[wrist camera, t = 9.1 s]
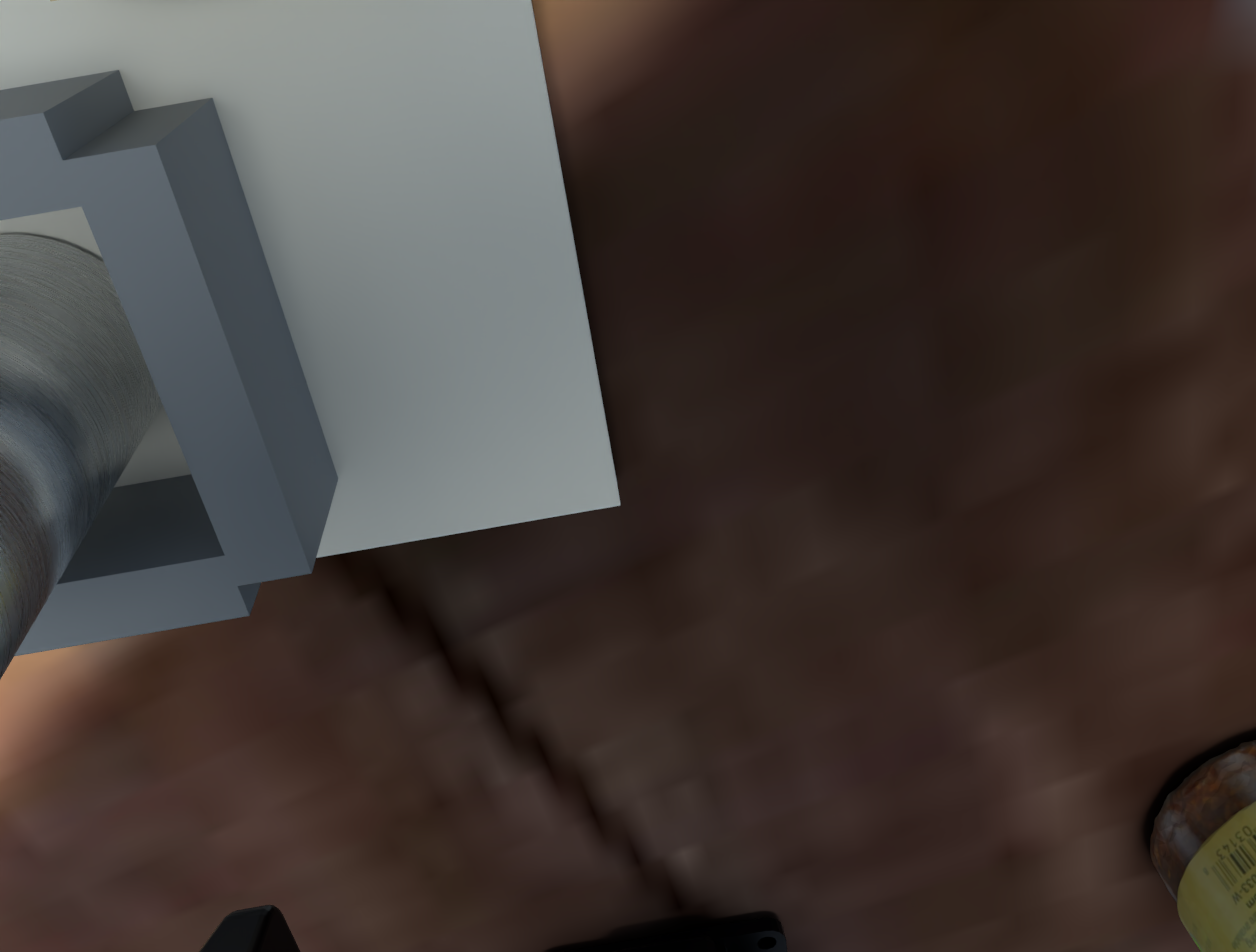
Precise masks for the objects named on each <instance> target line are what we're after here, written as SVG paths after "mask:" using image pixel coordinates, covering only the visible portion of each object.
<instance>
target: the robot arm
mask: <svg viewBox="0 0 1256 952" xmlns="http://www.w3.org/2000/svg"><path fill="white" fill-rule="evenodd" d="M199 952H300V950H299V948H298V946H297V944H296V942H295V939H294V937H293V935H292V933H291V931H290V929H289V927H288V925H287V923H286V920H285V918H284V916H283V914H282V913H281V911H280V910H279V909H278V908H277V907H275V906H273V905H265V906H259V907H253V908H248V909H242V910H237V911H234V912H232V913H230V914H229V915H227V916H226V917H225V918H224V919H223V920H222V921H221V922H220V924H219V925H218V926H217V928H216V929H215V930H214V932H213V933H212V934H211V936H210V937H209V938H208V940H207V941H206V942H205V944H204V945H203V946H202V948H201V949H200V950H199ZM567 952H787V946H786V939H785V934H784V930H783V926H782V924H781V922H780V921H778V920H777V919H774V918H770V917H769V918H758V919H752V920H747V921H741V922H735V923H729V924H723V925H718V926H712V927H706V928H700V929H694V930H689V931H683V932H677V933H671V934H666V935H660V936H654V937H648V938H642V939H637V940H631V941H625V942H619V943H614V944H608V945H602V946H596V947H590V948H585V949H579V950H573V951H567Z"/></svg>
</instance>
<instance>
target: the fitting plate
mask: <svg viewBox="0 0 1256 952" xmlns="http://www.w3.org/2000/svg"><path fill="white" fill-rule="evenodd" d="M2 234H21V235H30V236H38V237H43V238H47V239H51V240H56V241H59V242H61V243H64V244H67V245H70V246H73V247H75V248H77V249H80V250H82V251H84V252H86V253H88V254H90V255H92V256H94V257H95V258H97V259H99V260H100V261H102V262H104V263H105V265H106V267H107V270H108V272H109V275H110V277H111V280H112V282H113V284H114V287H115V289H116V292H117V294H118V297H119V299H120V302H121V304H122V306H123V309H124V311H125V314H126V316H127V319H128V321H129V323H130V326H131V328H132V331H133V333H134V336H135V338H136V340H137V343H138V345H139V348H140V350H141V353H142V355H143V358H144V360H145V362H146V365H147V367H148V370H149V372H150V375H151V377H152V379H153V382H154V384H155V387H156V389H157V392H158V394H159V396H160V399H161V401H162V407H161V408H160V410H159V412H158V413H157V415H156V417H155V419H154V420H153V422H152V424H151V425H150V427H149V429H148V430H147V432H146V434H145V435H144V437H143V439H142V441H141V442H140V444H139V446H138V447H137V449H136V451H135V452H134V454H133V456H132V457H131V459H130V461H129V463H128V464H127V466H126V468H125V469H124V471H123V473H122V474H121V476H120V478H119V479H118V481H117V483H116V485H115V486H114V488H113V490H112V491H111V493H110V495H109V496H108V498H107V500H106V501H105V503H104V505H103V507H102V508H101V510H100V512H99V513H98V515H97V517H96V518H95V520H94V522H93V523H92V525H91V527H90V529H89V530H88V532H87V534H86V535H85V537H84V539H83V540H82V542H81V544H80V545H79V547H78V549H77V550H76V552H75V554H74V556H73V557H72V559H71V561H70V562H69V564H68V566H67V567H66V569H65V571H64V572H63V574H62V576H61V578H60V579H59V581H58V583H57V584H56V586H55V588H54V589H53V591H52V593H51V594H50V596H49V598H48V600H47V601H46V603H45V605H44V606H43V608H42V610H41V611H40V613H39V615H38V616H37V618H36V620H35V622H34V623H33V625H32V627H31V628H30V630H29V632H28V633H27V635H26V637H25V638H24V640H23V642H22V644H21V645H20V647H19V649H18V650H17V652H16V654H15V655H14V656H18V655H24V654H30V653H36V652H42V651H47V650H53V649H59V648H65V647H71V646H76V645H82V644H88V643H94V642H100V641H105V640H111V639H117V638H123V637H129V636H135V635H140V634H146V633H152V632H158V631H164V630H169V629H175V628H181V627H187V626H193V625H198V624H204V623H210V622H216V621H222V620H227V619H233V618H239V617H245V616H250V613H251V610H252V607H253V604H254V601H255V599H256V596H257V593H258V590H259V587H260V584H261V582H264V581H270V580H276V579H282V578H288V577H294V576H299V575H305V574H311V573H312V571H313V567H314V563H315V560H316V558H318V557H324V556H330V555H336V554H341V553H347V552H353V551H359V550H365V549H370V548H376V547H382V546H388V545H394V544H399V543H405V542H411V541H417V540H423V539H428V538H434V537H440V536H446V535H452V534H458V533H463V532H469V531H475V530H481V529H487V528H492V527H498V526H504V525H510V524H516V523H521V522H527V521H533V520H539V519H545V518H551V517H556V516H562V515H568V514H574V513H580V512H585V511H591V510H597V509H603V508H609V507H614V506H620V498H619V492H618V485H617V479H616V473H615V468H614V462H613V457H612V451H611V445H610V440H609V434H608V428H607V423H606V417H605V412H604V406H603V400H602V395H601V389H600V383H599V378H598V372H597V366H596V361H595V355H594V350H593V344H592V338H591V333H590V327H589V321H588V316H587V310H586V305H585V299H584V293H583V288H582V282H581V276H580V271H579V265H578V259H577V254H576V248H575V243H574V237H573V231H572V226H571V220H570V214H569V209H568V203H567V198H566V192H565V186H564V181H563V175H562V169H561V164H560V158H559V152H558V147H557V141H556V136H555V130H554V124H553V119H552V113H551V107H550V102H549V96H548V91H547V85H546V79H545V74H544V68H543V62H542V57H541V51H540V45H539V40H538V34H537V29H536V23H535V17H534V12H533V6H532V0H0V235H2Z"/></svg>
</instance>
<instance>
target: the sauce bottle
mask: <svg viewBox="0 0 1256 952" xmlns="http://www.w3.org/2000/svg"><path fill="white" fill-rule="evenodd" d="M1150 855H1151V859H1152V862H1153V865H1154V866H1155V868H1156V869H1157V871H1158V872H1159V875H1160V876H1161V878H1162V879H1163V881H1164V883H1165V885H1166V887H1167V889H1168V891H1169V892H1170V894H1171V895H1172V896H1173V898H1174V900H1175V901H1176V903H1177V908H1178V913H1179V916H1180V919H1181V921H1182V923H1183V924H1184V926H1185V928H1186V929H1187V931H1188V932H1189V934H1190V936H1191V937H1192V939H1193V940H1194V942H1195V943H1196V945H1197V946H1198V948H1199V949H1200V951H1201V952H1256V740H1253V741H1249V742H1243V743H1241V744H1240V745H1239V746H1238V747H1236V748H1233V749H1230V750H1228V751H1226V752H1225V753H1223V754H1221V755H1218V756H1216V757H1214V758H1211V759H1209V760H1208V761H1207V762H1205V763H1204V764H1202V765H1201V766H1200V767H1199V768H1198V769H1196V770H1195V771H1193V772H1192V773H1191V774H1190V775H1189V776H1188V777H1187V778H1185V779H1184V781H1183V783H1181V784H1180V785H1179V786H1178V788H1176V789H1175V790H1173V791H1172V792H1171V793H1169V794H1168V796H1167V798H1166V800H1165V802H1164V804H1163V806H1162V808H1161V810H1160V812H1159V814H1158V816H1157V817H1156V818H1155V820H1154V829H1153V832H1152V835H1151V841H1150Z"/></svg>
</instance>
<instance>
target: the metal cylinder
mask: <svg viewBox="0 0 1256 952" xmlns="http://www.w3.org/2000/svg"><path fill="white" fill-rule="evenodd" d="M161 407H162V401H161V399H160V396H159V394H158V392H157V389H156V387H155V384H154V382H153V379H152V377H151V375H150V372H149V370H148V367H147V365H146V362H145V360H144V358H143V355H142V353H141V350H140V348H139V345H138V343H137V340H136V338H135V336H134V333H133V331H132V328H131V326H130V323H129V321H128V319H127V316H126V314H125V311H124V309H123V306H122V304H121V302H120V299H119V297H118V294H117V292H116V289H115V287H114V284H113V282H112V280H111V277H110V275H109V272H108V270H107V267H106V265H105V263H104V262H102V261H100V260H99V259H97V258H95V257H94V256H92V255H90V254H88V253H86V252H84V251H82V250H80V249H77V248H75V247H73V246H70V245H67V244H64V243H61V242H59V241H56V240H51V239H47V238H43V237H38V236H30V235H21V234H2V235H0V679H1V677H2V676H3V674H4V672H5V671H6V669H7V667H8V666H9V664H10V662H11V660H12V659H13V657H14V655H15V654H16V652H17V650H18V649H19V647H20V645H21V644H22V642H23V640H24V638H25V637H26V635H27V633H28V632H29V630H30V628H31V627H32V625H33V623H34V622H35V620H36V618H37V616H38V615H39V613H40V611H41V610H42V608H43V606H44V605H45V603H46V601H47V600H48V598H49V596H50V594H51V593H52V591H53V589H54V588H55V586H56V584H57V583H58V581H59V579H60V578H61V576H62V574H63V572H64V571H65V569H66V567H67V566H68V564H69V562H70V561H71V559H72V557H73V556H74V554H75V552H76V550H77V549H78V547H79V545H80V544H81V542H82V540H83V539H84V537H85V535H86V534H87V532H88V530H89V529H90V527H91V525H92V523H93V522H94V520H95V518H96V517H97V515H98V513H99V512H100V510H101V508H102V507H103V505H104V503H105V501H106V500H107V498H108V496H109V495H110V493H111V491H112V490H113V488H114V486H115V485H116V483H117V481H118V479H119V478H120V476H121V474H122V473H123V471H124V469H125V468H126V466H127V464H128V463H129V461H130V459H131V457H132V456H133V454H134V452H135V451H136V449H137V447H138V446H139V444H140V442H141V441H142V439H143V437H144V435H145V434H146V432H147V430H148V429H149V427H150V425H151V424H152V422H153V420H154V419H155V417H156V415H157V413H158V412H159V410H160V408H161Z"/></svg>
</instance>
